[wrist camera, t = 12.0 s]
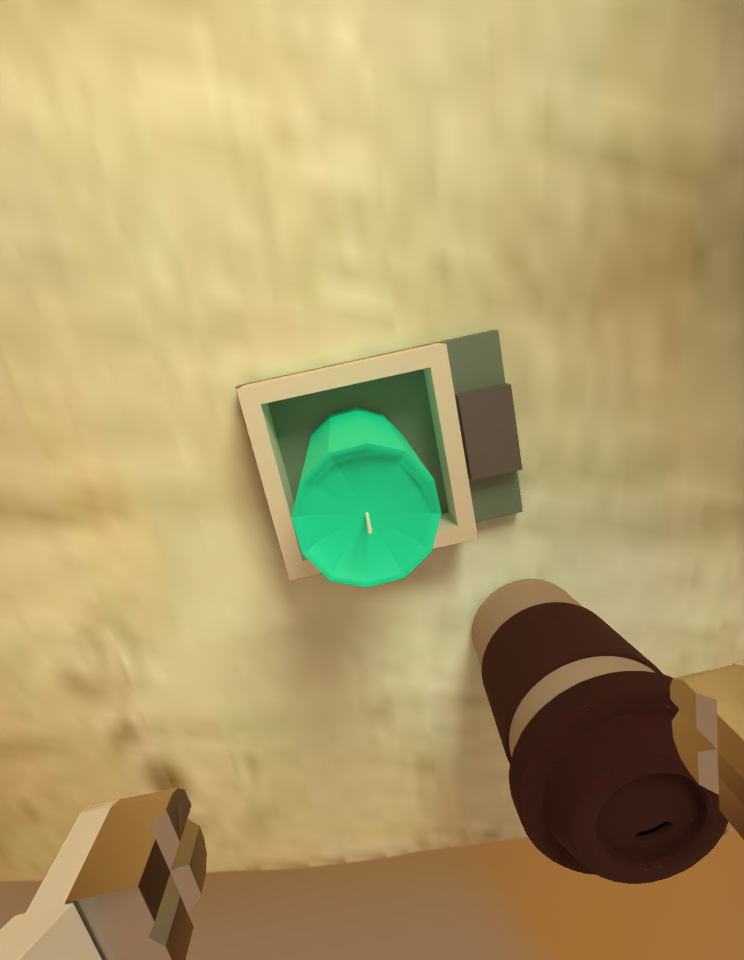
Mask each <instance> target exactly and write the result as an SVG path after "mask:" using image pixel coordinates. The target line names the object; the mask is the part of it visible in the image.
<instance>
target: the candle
mask: <svg viewBox="0 0 744 960" xmlns="http://www.w3.org/2000/svg"><path fill="white" fill-rule="evenodd" d="M440 517H441V509H440V504H439V499H438V495H437V490H436V485H435V480H434V479H433V477H432V476H431V474H430V473H429V472H428V470H427V469H426V467H425V466H424V464H423V463H422V462H421V460H420V459H419V457H418V456H417V455H416V453H415V452H414V450H413V449H412V447H411V446H410V445H409V443H408V442H407V440H406V439H405V438H404V436H403V435H402V433H401V432H400V431H399V430H398V429H397V428H396V427H395V426H394V425H393V424H392V423H391V422H390V421H389V420H388V419H387V418H386V417H385V416H384V415H383V414H380V413H376V412H372V411H368V410H365V409H361V408H357V407H356V408H353V409H349V410H345V411H342V412H338V413H334V414H331V415H330V416H329V417H328V418H327V419H326V420H325V421H324V422H323V423H322V424H321V425H320V426H319V427H318V428H317V429H316V430H315V431H314V432H313V433H312V434H311V438H310V442H309V446H308V450H307V454H306V459H305V463H304V467H303V471H302V475H301V479H300V483H299V487H298V491H297V495H296V499H295V503H294V507H293V512H292V516H291V519H292V522H293V525H294V528H295V532H296V535H297V538H298V542H299V545H300V548H301V551H302V554H303V555H304V556H305V557H306V558H307V559H308V560H309V561H310V562H311V563H312V564H313V565H314V566H315V567H316V568H317V569H318V570H319V571H320V572H321V573H322V574H323V575H324V576H325V577H326V578H327V579H328V580H329V581H331V582H337V583H343V584H349V585H355V586H361V587H367V588H368V587H372V586H376V585H380V584H384V583H388V582H392V581H396V580H400V579H404V578H405V577H406V576H407V575H408V574H409V573H410V572H411V571H412V570H414V569H415V568H416V567H417V566H418V565H419V564H420V563H421V562H422V561H423V560H424V559H425V558H426V557H427V556H428V555H429V554H430V553H431V552H432V549H433V545H434V541H435V537H436V533H437V529H438V525H439V521H440Z"/></svg>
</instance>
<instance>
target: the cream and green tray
mask: <svg viewBox="0 0 744 960" xmlns="http://www.w3.org/2000/svg"><path fill="white" fill-rule="evenodd" d="M236 390H237V394H238V398H239V401H240V405H241V408H242V412H243V416H244V419H245V423H246V426H247V430H248V433H249V437H250V441H251V444H252V448H253V451H254V455H255V459H256V462H257V466H258V469H259V473H260V477H261V480H262V484H263V487H264V491H265V494H266V498H267V502H268V505H269V509H270V512H271V516H272V520H273V523H274V527H275V530H276V534H277V538H278V541H279V545H280V548H281V552H282V555H283V559H284V563H285V566H286V570H287V573H288V577H289V581H290V580H295V579H299V578H304V577H308V576H313V575H317V574H322V573H321V572H320V571H319V570H318V569H317V568H316V567H315V566H314V565H313V564H312V563H311V562H310V561H309V560H308V559H307V558H306V557H305V556H304V555H303V554H302V551H301V548H300V545H299V542H298V538H297V535H296V532H295V528H294V525H293V522H292V519H291V516H292V512H293V507H294V503H295V499H296V495H297V491H298V487H299V483H300V479H301V475H302V471H303V467H304V463H305V459H306V454H307V450H308V446H309V442H310V438H311V434H312V433H313V432H314V431H315V430H316V429H317V428H318V427H319V426H320V425H321V424H322V423H323V422H324V421H325V420H326V419H327V418H328V417H329V416H330V415H331V414H334V413H338V412H342V411H345V410H349V409H353V408H356V407H357V408H361V409H365V410H368V411H372V412H376V413H380V414H383V415H384V416H385V417H386V418H387V419H388V420H389V421H390V422H391V423H392V424H393V425H394V426H395V427H396V428H397V429H398V430H399V431H400V432H401V433H402V435H403V436H404V438H405V439H406V440H407V442H408V443H409V445H410V446H411V447H412V449H413V450H414V452H415V453H416V455H417V456H418V457H419V459H420V460H421V462H422V463H423V464H424V466H425V467H426V469H427V470H428V472H429V473H430V474H431V476H432V477H433V479H434V480H435V485H436V490H437V495H438V499H439V504H440V509H441V517H440V521H439V525H438V529H437V533H436V537H435V541H434V545H433V549H434V548H439V547H443V546H448V545H452V544H457V543H461V542H466V541H470V540H475V539H478V535H477V529H476V523H475V522H477V521H482V520H486V519H491V518H495V517H500V516H504V515H509V514H513V513H518V512H522V504H521V496H520V489H519V481H518V474H517V470H522V465H521V457H520V450H519V442H518V435H517V427H516V420H515V412H514V405H513V397H512V390H511V384H507V383H505V378H504V371H503V364H502V356H501V349H500V341H499V334H498V330H492V331H487V332H482V333H478V334H473V335H469V336H464V337H459V338H455V339H450V340H446V341H441V342H436V343H432V344H427V345H423V346H418V347H413V348H409V349H404V350H400V351H395V352H391V353H386V354H381V355H377V356H372V357H368V358H363V359H358V360H354V361H349V362H345V363H340V364H335V365H331V366H326V367H322V368H317V369H312V370H308V371H303V372H299V373H294V374H289V375H285V376H280V377H276V378H271V379H266V380H262V381H257V382H253V383H248V384H244V385H239V386H237V387H236Z"/></svg>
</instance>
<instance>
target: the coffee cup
mask: <svg viewBox="0 0 744 960" xmlns="http://www.w3.org/2000/svg"><path fill="white" fill-rule="evenodd" d="M473 642H474V646H475V649H476V652H477V655H478V658H479V661H480V664H481V667H482V679H483V684H484V687H485V691H486V694H487V697H488V700H489V703H490V706H491V709H492V712H493V716H494V719H495V722H496V725H497V728H498V731H499V734H500V737H501V740H502V744H503V747H504V750H505V753H506V756H507V759H508V761H509V763H510V770H509V784H510V790H511V796H512V799H513V802H514V805H515V807H516V810H517V813H518V815H519V818H520V820H521V823H522V825H523V827H524V830H525V832H526V834H527V835H528V837H529V838H530V840H531V841H532V843H533V844H534V845H535V846H536V847H537V849H538V850H540V851H541V852H542V853H543V854H544V855H546V856H547V857H548V858H550V859H551V860H552V861H554V862H556V863H558V864H560V865H562V866H564V867H566V868H569V869H571V870H574V871H577V872H582V873H585V874H595V875H598V876H600V877H603V878H605V879H608V880H612V881H614V882H621V883H628V884H641V883H649V882H654V881H658V880H662V879H665V878H669V877H671V876H673V875H676V874H678V873H680V872H683V871H685V870H686V869H688V868H690V867H692V866H693V865H694V864H696V863H697V862H698V861H699V860H701V859H702V858H703V857H704V856H706V855H707V854H708V853H709V852H710V851H711V850H712V849H713V848H714V847H715V846H716V844H717V843H718V841H719V840H720V838H721V837H722V835H723V834H724V832H725V829H726V827H727V824H728V820H727V819H726V817H725V816H724V815H723V814H722V813H721V811H720V808H719V795H718V794H716V793H714V792H712V791H710V790H709V789H707V788H705V787H703V786H701V785H699V784H698V783H697V781H696V780H695V779H694V777H693V776H692V775H691V774H690V772H689V771H688V770H687V768H686V766H685V764H684V763H683V761H682V759H681V758H680V755H679V753H678V750H677V747H676V745H675V742H674V739H673V730H672V720H673V719H674V717H675V716H676V714H677V712H678V711H679V708H678V707H677V706H676V705H675V704H674V703H673V701H672V700H671V699H670V685H671V682H672V679H673V678H672V677H669V676H666V675H663V673H662V672H661V671H660V670H659V669H658V668H657V667H656V666H655V665H654V664H652V663H651V662H650V661H649V660H648V659H647V658H646V657H644V656H643V655H642V654H641V653H640V652H639V651H637V650H636V649H635V648H634V647H633V646H632V645H631V644H629V643H628V642H627V641H626V640H625V639H624V638H623V637H621V636H620V635H619V634H618V633H617V632H616V631H614V630H613V629H612V628H611V627H610V626H609V625H608V624H606V623H605V622H604V621H603V620H602V619H601V618H599V617H598V616H597V615H596V614H594V613H593V612H591V611H590V610H588V609H586V608H584V607H582V606H581V605H580V604H578V603H577V602H576V601H575V600H574V599H573V598H572V597H571V596H569V595H568V594H567V593H566V592H565V591H564V590H562V589H561V588H559V587H558V586H556V585H554V584H551V583H549V582H546V581H542V580H533V579H528V580H520V581H515V582H512V583H510V584H507V585H505V586H503V587H501V588H499V589H498V590H496V591H495V592H494V593H492V594H491V595H490V596H489V597H488V598H487V599H486V600H485V601H484V603H483V604H482V605H481V607H480V608H479V611H478V613H477V615H476V617H475V621H474V624H473Z"/></svg>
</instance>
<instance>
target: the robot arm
mask: <svg viewBox="0 0 744 960" xmlns="http://www.w3.org/2000/svg"><path fill="white" fill-rule="evenodd" d="M670 699H671V700H672V701H673V703H674V704H675V705H676V706H677V707H678V708H679V711H678V712H677V714H676V716H675V717H674V719H673V720H672V730H673V739H674V742H675V745H676V747H677V750H678V753H679V755H680V758H681V759H682V761H683V763H684V764H685V766H686V768H687V770H688V771H689V772H690V774H691V775H692V776H693V777H694V779H695V780H696V781H697V783H698V784H699V785H701V786H703V787H705V788H707V789H709V790H710V791H712V792H714V793H716V794H718V795H719V808H720V811H721V813H722V814H723V815H724V816H725V817H726V819H727V820H728V821H729V822H730V824H731V825H732V826H733V827H734V829H735V830H736V831H737V832H738V833H739V835H740V836H741V837H742V838H743V839H744V662H740V663H735V664H733V665H728V666H724V667H720V668H715V669H711V670H707V671H702V672H698V673H694V674H689V675H685V676H681V677H676V678H673V679H672V682H671V685H670ZM190 808H191V803H190V801H189V799H188V796H187V794H186V792H185V790H184V789H180V788H175V789H170V790H165V791H160V792H155V793H149V794H144V795H139V796H134V797H129V798H124V799H119V800H118V801H113V802H107V803H102V804H96V805H91V806H88V807H87V808H86V809H85V810H84V811H82V812H81V813H80V815H79V816H78V818H77V820H76V822H75V823H74V825H73V827H72V829H71V831H70V833H69V834H68V836H67V838H66V840H65V842H64V844H63V845H62V847H61V849H60V851H59V853H58V855H57V856H56V858H55V860H54V862H53V864H52V866H51V867H50V869H49V871H48V873H47V875H46V877H45V878H44V880H43V882H42V884H41V886H40V888H39V889H38V891H37V893H36V895H35V897H34V899H33V900H32V902H31V904H30V906H29V908H28V910H27V911H26V913H24V914H20V915H16V916H14V917H13V918H12V919H11V920H10V921H9V922H8V923H7V924H6V925H5V926H4V927H3V928H2V929H1V930H0V960H185V959H186V955H187V951H188V947H189V943H190V939H191V935H192V930H193V925H192V923H191V920H190V918H189V915H188V912H189V910H190V909H191V908H192V906H193V905H194V904H195V902H196V901H197V900H198V899H199V897H200V896H201V894H202V889H203V885H204V880H205V876H206V857H207V853H206V847H205V840H204V836H203V834H202V831H201V828H200V826H199V825H197V824H196V823H194V822H192V821H191V820H189V819H188V815H189V811H190Z"/></svg>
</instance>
